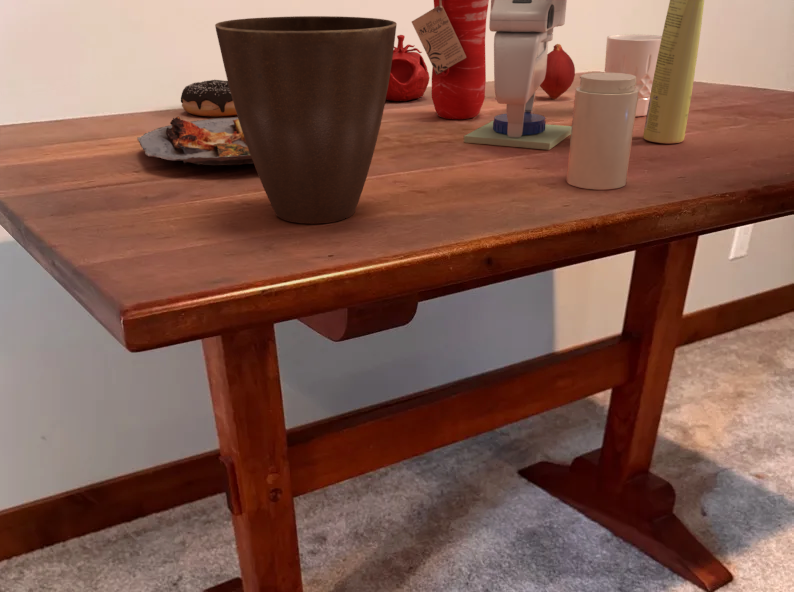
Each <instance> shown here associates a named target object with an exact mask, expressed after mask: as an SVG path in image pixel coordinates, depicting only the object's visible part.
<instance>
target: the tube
mask: <svg viewBox="0 0 794 592" xmlns="http://www.w3.org/2000/svg"><path fill="white" fill-rule="evenodd" d="M704 6H705V0H669V3H668V7H667V12H666V16H665V21H664V25H663V29H662V35H661V36H662V38H661V43H660V48H659V53H658V58H657V63H656V68H655V73H654V78H653V83H652V89H651V94H650V100H649V105H648V111H647V115H646V116H645V117H646V118H645V121H644V122H645V123H644V128H643V135H642V137H643V139H644V140H645V141H648V142H650V143H651V142H652V143H657V144H679V143H683V141H684V140H685V136H686V131H687V126H688V124H687V123H688V120H689V112H690V107H691V100H692V93H693V88H694V81H695V73H696V68H697V59H698V54H699V53H698V52H699V45H700V38H701V31H702V23H703V16H704V15H703V14H704Z"/></svg>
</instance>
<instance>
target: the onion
mask: <svg viewBox="0 0 794 592" xmlns="http://www.w3.org/2000/svg"><path fill="white" fill-rule="evenodd" d="M575 76H576V67H575V63H574V61H573V59H572V58H571V57H570V55H569V54H568V53H567V52H566V51H565V50H564V49H563V46H562V45H561V44H560V43H556V44H554V45H553V50H552V51H549V52H548V54H547V68H546V75H545V79H544V81H543V82H542V83H541V85H540V86H539V87H540V88H541V89H542V90H543V92H545V94H546V95H547V96H548V97H549V98H550V99H552V100H555V99H556V100H557V99H558V98H559V97H561V95H563V94H565V93H566V92H567V91H568V90H569V89H570V87H571V86H572V84H573V83H574V80H575Z"/></svg>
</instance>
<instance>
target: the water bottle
mask: <svg viewBox="0 0 794 592" xmlns="http://www.w3.org/2000/svg"><path fill="white" fill-rule="evenodd" d="M489 2H490V0H433V8H432V9H430V10H429V11H427V12H425V13H423V14H422V15H420V16H419V17H417V18H415V19H413V20H412V21H411V24H412V26H413V28H414V30H415V32H416V34H417V36H418V39H419V41H420V43H421V45H422V47H423V49H424V51H425V53H426V55H427V58H428V60H429V62H430V64H431V66H432V71H431V99H432V102H433V107H434V110H435V113H436V114H437V116H438V117H439V118H441V119H445V120H470V119H473V118H476V117H477V116H479V114H480V112H481V110H482V107H483V104H484V102H485V97H486V84H487V83H486V82H487V81H486V80H487V77H486V75H487V73H486V72H487V71H486V69H487V68H486V67H487V65H486V64H487V63H486V34H487V33H486V31H487V30H486V29H487V17H488V10H489Z"/></svg>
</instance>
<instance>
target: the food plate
mask: <svg viewBox="0 0 794 592" xmlns="http://www.w3.org/2000/svg"><path fill="white" fill-rule="evenodd" d="M136 141H138V143H139V145H140V147H141V149H142V151H144V154H145V156H148V157H154V158H161V159H162V160H163V159H164V160H167V161H172V162H175V161H181V162H183V164H187V163H192V164H195V165H199V166H200V165H205V166H240V165H248V164H249V165H250V164H251V165H254V163H253V160H252V157H251V155H250V152H249V149H248V146H247V144H246V141H245V138H244V135H243V132H242V129H241V126H240V122H239V119H238V116H236V117H213V118H207V119H196V120H191V121H188V120H184V119H181V117H180V116H176V117H173V118H172V119H171V121H170V125H165V126H161V127H157V128H155V129H153V130H150V131H147V132H145V133H143V135H141V136H139V137H137V138H136Z"/></svg>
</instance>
